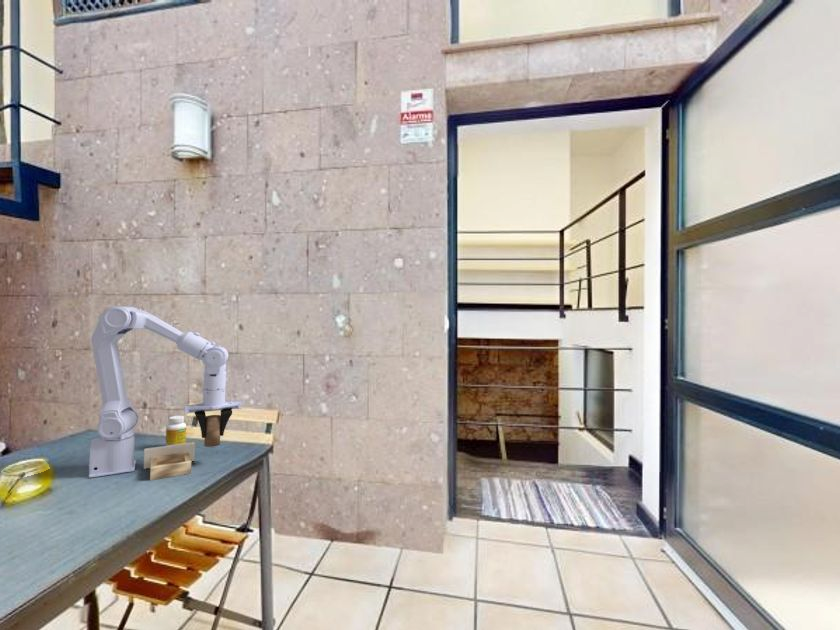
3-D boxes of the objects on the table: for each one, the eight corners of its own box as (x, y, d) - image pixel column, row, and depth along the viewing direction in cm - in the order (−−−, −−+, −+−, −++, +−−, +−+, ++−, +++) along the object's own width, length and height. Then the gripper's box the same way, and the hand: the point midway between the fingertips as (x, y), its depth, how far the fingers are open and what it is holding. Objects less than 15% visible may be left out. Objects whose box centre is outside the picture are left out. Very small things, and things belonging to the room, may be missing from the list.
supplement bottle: (178, 451, 121) (179, 419, 121) (161, 450, 122) (162, 419, 122) (189, 445, 127) (190, 415, 127) (172, 444, 127) (173, 414, 127)
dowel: (205, 447, 110) (206, 419, 110) (203, 443, 114) (204, 415, 114) (220, 445, 112) (222, 417, 112) (218, 441, 116) (220, 414, 116)
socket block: (150, 480, 101) (150, 468, 101) (150, 468, 108) (150, 457, 108) (190, 473, 106) (191, 462, 106) (188, 462, 113) (188, 451, 113)
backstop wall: (143, 469, 107) (144, 450, 107) (143, 466, 109) (144, 448, 109) (194, 461, 114) (194, 444, 114) (193, 459, 116) (194, 442, 116)
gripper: (186, 393, 106) (184, 443, 106) (244, 389, 114) (242, 436, 114) (184, 388, 111) (182, 436, 111) (240, 385, 120) (238, 429, 120)
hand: (212, 436), depth 113 cm, fingers closed on dowel, 4 cm apart
